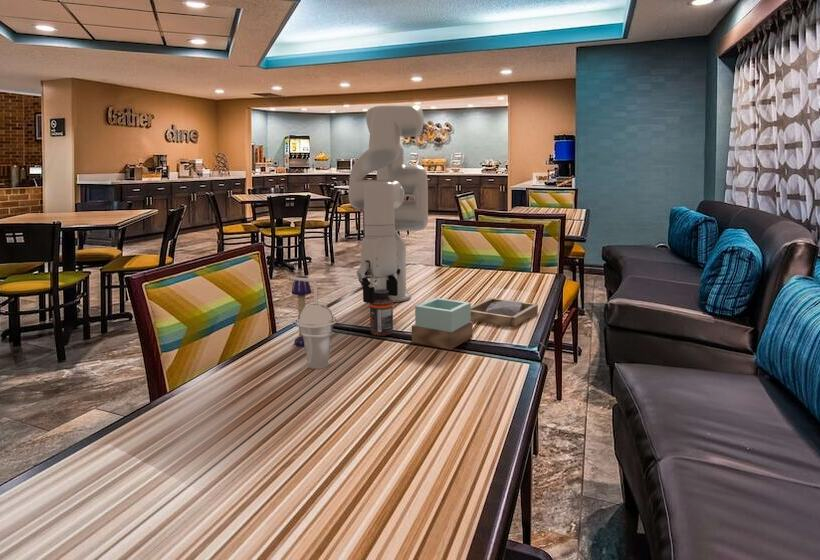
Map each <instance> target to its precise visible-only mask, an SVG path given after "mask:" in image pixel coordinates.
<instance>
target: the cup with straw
mask: <svg viewBox="0 0 820 560" xmlns="http://www.w3.org/2000/svg"><path fill="white" fill-rule="evenodd" d="M288 279H289V281H294V280H295V281H306V282H309V283H312V284H313V299H314V300H313V303H309V304H308V305H305V308H304V309H303V310H302V312H301V315H300V317H298V318H296V322H295V323H296V325H297V326H298V327H299V326H300V328H301V332H302V335H303V339H304V345H305V346H304V350H305V355H306V362H307V364H308V365H307V367H308V368H310V369H315V370H319V369H325V368H326V367H329V366H330V362H329V361H330V356H331V342H332V341H331V340H332V334H333V330H334V329H333V328H334V324H336V323H337V318H336V316H335V315H333V313H332V311H331V309H330V308H329V306H327V305H325V304H323V303H320V302H318V300H319V299H318V284H317V280H316V279H313V278H308V277H307V278H298V277H297V276H290V277H289V278H288Z"/></svg>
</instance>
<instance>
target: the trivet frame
mask: <svg viewBox="0 0 820 560" xmlns="http://www.w3.org/2000/svg"><path fill="white" fill-rule="evenodd" d="M500 301H512V302H520V301H518V300H517V301H516V300H510V299H505V298H498V297H497V298H495V297H493V298H492V297H488V298H487V299H484V300H481V301H480V302H478V303H475V304H474V305H471V321H475V322H482V323H487V324H494V325H499V326H503V327H504V326H506V327H517V326H519V325H520V324H522V323H524V322H525V321H527V320H529V319H530V318H532V317H534V316H535V315H536V313H537V314H538V313H539V311H538V310H539V304H535V303H532V302H526V301H521V302H522V311H521V312H519V313H517V314H516V315H514V316H506V315H500V314H494V313H487V312H486V310H487V308H488V306H489V305H491V303H494V302H500ZM534 314H535V315H534ZM528 318H529V319H528Z"/></svg>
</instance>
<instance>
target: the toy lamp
mask: <svg viewBox="0 0 820 560" xmlns="http://www.w3.org/2000/svg"><path fill="white" fill-rule="evenodd" d="M296 277H298V278H308V277H307V276H306V275H298V276H296ZM309 294H312V289H311V285H310V282H306V281H295V280H293V283H292V288H291V295H294V296H297V299H298V300H297V306H298V307H297V310H298V315H297V316H298V318H299V317H300V315H301V312H302V310H303V309H304V308H305V307H306V296H307V295H309ZM298 331H299V332H298V335H299V336H297V337H296V338H295V339H294V342H293V345H294V346H295V345H296V346H297V347H305V345H304V339H303V335H302V332H301V328H300V326H298Z"/></svg>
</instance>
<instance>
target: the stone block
mask: <svg viewBox="0 0 820 560" xmlns="http://www.w3.org/2000/svg"><path fill="white" fill-rule="evenodd" d="M512 301H513V300H512ZM512 301H500V302H494V303H491V305H489V306H488V308H487V310H485V312H487V313H494V314H500V315H506V316H514V315H516V314H517V313H519V312H521V311H522V302H523V301H519V302H512Z"/></svg>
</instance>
